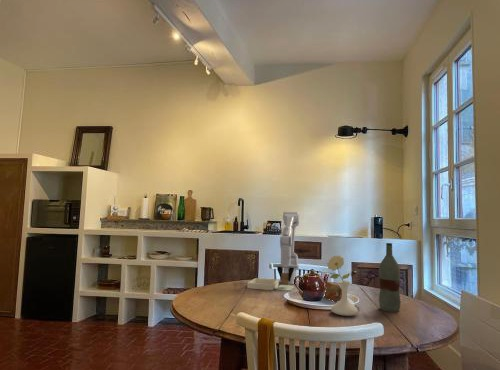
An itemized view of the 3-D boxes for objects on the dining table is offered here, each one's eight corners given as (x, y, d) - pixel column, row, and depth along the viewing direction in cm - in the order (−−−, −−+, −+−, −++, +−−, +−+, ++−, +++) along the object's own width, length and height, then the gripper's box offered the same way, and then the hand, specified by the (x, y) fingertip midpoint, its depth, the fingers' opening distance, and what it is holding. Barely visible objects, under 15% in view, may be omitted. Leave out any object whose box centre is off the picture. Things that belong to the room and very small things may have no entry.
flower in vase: (355, 311, 162) (355, 254, 164) (360, 318, 151) (360, 257, 153) (325, 310, 163) (325, 253, 165) (328, 317, 152) (328, 256, 154)
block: (282, 283, 211) (282, 272, 211) (289, 283, 209) (289, 273, 210) (281, 284, 207) (281, 273, 207) (288, 285, 206) (288, 274, 206)
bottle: (387, 312, 161) (386, 244, 163) (374, 307, 169) (374, 242, 172) (405, 311, 163) (404, 244, 165) (392, 306, 172) (391, 242, 174)
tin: (319, 296, 189) (319, 280, 190) (324, 296, 190) (324, 280, 191) (338, 303, 175) (338, 285, 176) (343, 303, 177) (343, 285, 177)
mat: (280, 285, 215) (280, 285, 215) (294, 286, 213) (294, 286, 213) (276, 289, 204) (276, 289, 204) (290, 291, 201) (290, 290, 201)
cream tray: (255, 283, 222) (255, 278, 222) (278, 285, 217) (278, 279, 217) (247, 288, 207) (247, 282, 207) (272, 290, 202) (272, 284, 203)
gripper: (271, 256, 208) (271, 281, 207) (297, 258, 203) (296, 283, 202) (274, 255, 215) (274, 279, 214) (299, 256, 210) (299, 280, 209)
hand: (285, 280), depth 208 cm, fingers closed on block, 4 cm apart
